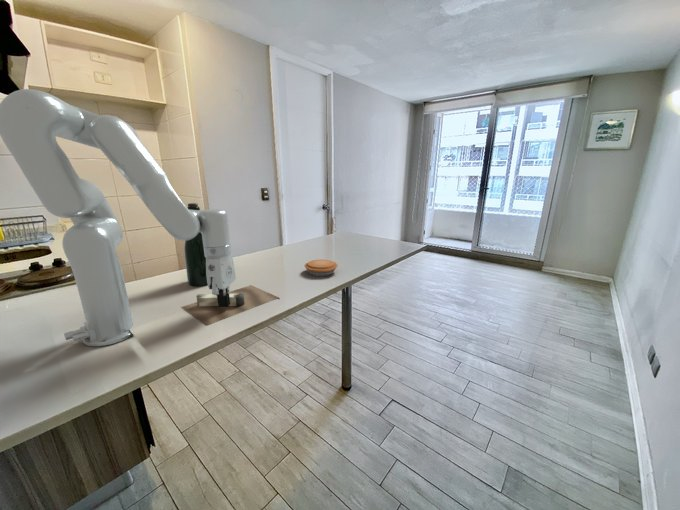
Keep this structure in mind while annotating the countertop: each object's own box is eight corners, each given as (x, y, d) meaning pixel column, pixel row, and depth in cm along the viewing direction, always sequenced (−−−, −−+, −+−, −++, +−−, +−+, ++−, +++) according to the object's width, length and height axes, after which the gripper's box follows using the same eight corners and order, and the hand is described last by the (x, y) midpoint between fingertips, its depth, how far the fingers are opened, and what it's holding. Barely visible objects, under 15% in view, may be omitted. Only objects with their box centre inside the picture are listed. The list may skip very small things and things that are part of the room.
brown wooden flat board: (206, 330, 80) (204, 316, 79) (181, 311, 92) (179, 298, 90) (279, 301, 99) (279, 289, 98) (251, 288, 111) (250, 278, 109)
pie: (300, 269, 134) (299, 259, 133) (329, 265, 141) (329, 256, 139) (310, 280, 121) (310, 269, 120) (343, 275, 127) (343, 264, 126)
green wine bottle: (205, 279, 120) (195, 201, 111) (222, 283, 116) (214, 202, 107) (182, 287, 111) (170, 203, 102) (201, 292, 107) (189, 205, 98)
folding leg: (195, 306, 91) (194, 297, 90) (199, 302, 94) (198, 293, 93) (243, 305, 92) (242, 296, 91) (245, 301, 95) (244, 292, 94)
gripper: (218, 257, 77) (225, 317, 82) (239, 244, 92) (244, 296, 97) (192, 257, 78) (200, 316, 83) (217, 244, 92) (223, 295, 97)
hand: (224, 305), depth 90 cm, fingers closed
